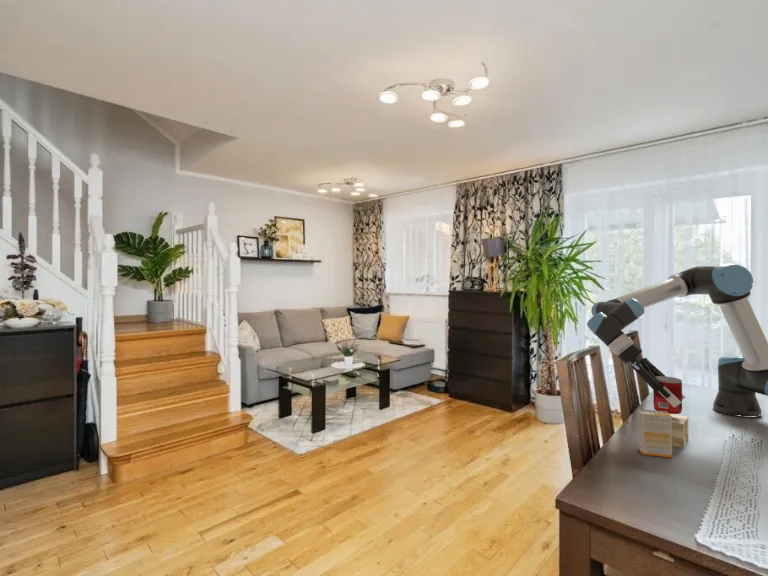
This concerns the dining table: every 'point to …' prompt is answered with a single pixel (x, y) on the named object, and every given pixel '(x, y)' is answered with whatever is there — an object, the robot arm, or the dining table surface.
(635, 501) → the dining table surface
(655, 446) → the supplement box
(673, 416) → the beech block
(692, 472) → the dining table surface
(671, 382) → the canned food
